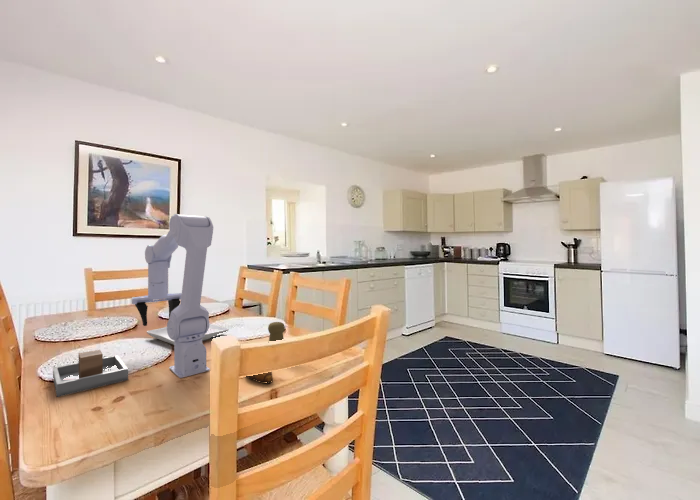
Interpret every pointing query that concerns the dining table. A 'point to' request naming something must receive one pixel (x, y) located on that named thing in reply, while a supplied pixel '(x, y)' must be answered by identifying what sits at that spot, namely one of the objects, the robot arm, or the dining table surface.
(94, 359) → the walnut block
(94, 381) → the tray
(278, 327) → the cork
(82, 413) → the dining table surface
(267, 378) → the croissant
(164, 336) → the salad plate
